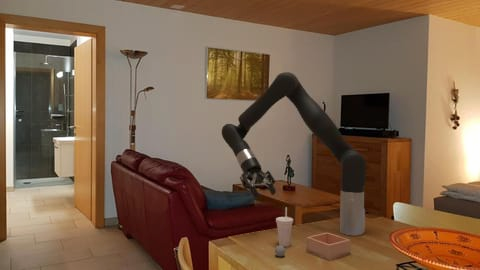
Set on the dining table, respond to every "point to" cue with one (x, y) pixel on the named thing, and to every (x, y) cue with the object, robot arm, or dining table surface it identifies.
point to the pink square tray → (328, 246)
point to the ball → (279, 250)
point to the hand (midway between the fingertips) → (265, 194)
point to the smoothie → (284, 229)
